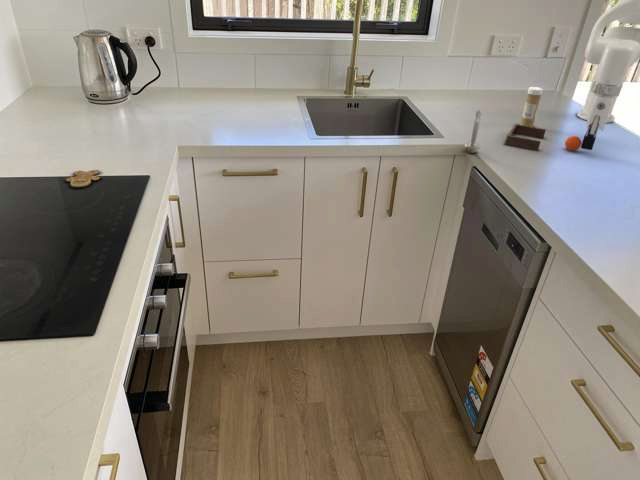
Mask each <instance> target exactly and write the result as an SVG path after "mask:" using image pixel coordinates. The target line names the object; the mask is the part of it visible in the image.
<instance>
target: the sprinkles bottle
mask: <svg viewBox="0 0 640 480" xmlns="http://www.w3.org/2000/svg"><path fill="white" fill-rule="evenodd" d="M527 89H528V90H527V96H526V100H525V103H524V108H523V111H522V115H521V120H520V123H519V125H524V126H529V127H534V124H535V120H536V117H537V114H538V109H539V104H540V101H541V96H542V95H543V92H544V91H543V90H544V89H543V88H542V87H538V86H529V87H528V88H527Z"/></svg>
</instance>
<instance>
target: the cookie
mask: <svg viewBox="0 0 640 480" xmlns="http://www.w3.org/2000/svg"><path fill="white" fill-rule="evenodd" d="M100 173H101V170H99V169H92V170H89V171H84V170H76V171H73V172H72V174H73V175H75V176H70V177H67V178H66V179H65V181H66V182H68V183H69V184H70V187H71V188H77V189H78V188H85V187H86V188H87V187H89V186H90V185H91V184H92V181H93V182H94V181H99V180H100V179H101V177H100V176H98V174H100Z"/></svg>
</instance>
